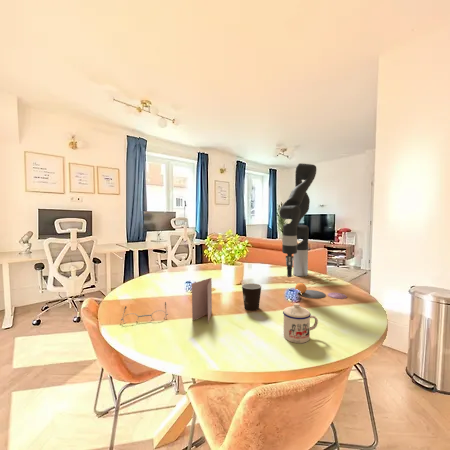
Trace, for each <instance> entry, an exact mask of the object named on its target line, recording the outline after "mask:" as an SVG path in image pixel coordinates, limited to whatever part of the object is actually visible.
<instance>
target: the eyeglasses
mask: <svg viewBox="0 0 450 450" xmlns="http://www.w3.org/2000/svg"><path fill="white" fill-rule="evenodd" d="M164 304H165V306H167V302H166V301H165V302H164ZM126 308H127V306H125V307H124V310H123V313H122V317H121V319H120V321H122V322H123V323H124V322H125V320H124V318H125V317H127V315H129V313H127V314H125V310H126ZM165 309H166V310H165V311H164V310H162V309H161V310H159V312H162V313H164V314H165V316H164V318H166V316H167V315H169V313H167V307H165ZM154 313H157V310H155V311H153V312H152V313H151V314H143V315H138V314H136V313H131V315H136V316H137V319H139V318H143V317H151V319H152V320H153V319H154V318H153V317H152V316H153V314H154ZM124 314H125V315H124Z"/></svg>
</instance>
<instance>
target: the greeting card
mask: <svg viewBox="0 0 450 450" xmlns="http://www.w3.org/2000/svg"><path fill="white" fill-rule="evenodd" d="M212 282H213V281H212V277H209V278H206V279H203V280H200V281H196V282H193V283H191V313H192V316H191V317H192V319H191V320H192V322H193V320H194V321H196V320H199V319H200V318H202V317H204V316H207V323H209V322H210V319H211V316H212V312H213V310H212V309H213V307H212V306H213V301H212V299H213V298H212V297H213V294H212V293H213V292H212ZM195 319H196V320H195Z"/></svg>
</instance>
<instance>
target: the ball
mask: <svg viewBox="0 0 450 450" xmlns="http://www.w3.org/2000/svg"><path fill="white" fill-rule="evenodd" d="M294 288H295V290H296V289H298V290H300V291H301V293H302V294H303V293H305V292H306V290H308V289H307V285H306V284H305V283H304V282H303V283H302V282H298V283H296V285H295V287H294Z"/></svg>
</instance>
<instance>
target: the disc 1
mask: <svg viewBox="0 0 450 450" xmlns="http://www.w3.org/2000/svg"><path fill="white" fill-rule="evenodd" d="M326 295H327V294H326V293H324V292H323V291H320V290H314V289H306V292H305V293H303V294H302V296H301V297H304V298H309V299H324V298H326V297H327V296H326Z"/></svg>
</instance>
